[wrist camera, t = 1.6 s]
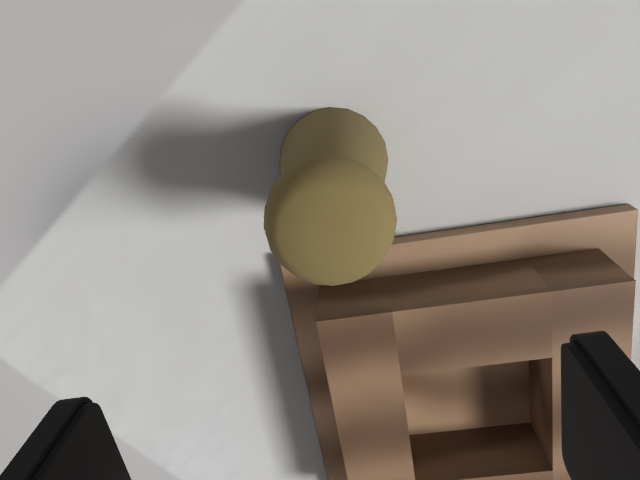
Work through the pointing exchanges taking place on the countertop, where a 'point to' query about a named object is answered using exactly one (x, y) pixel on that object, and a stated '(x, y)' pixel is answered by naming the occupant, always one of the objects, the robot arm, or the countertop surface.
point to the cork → (331, 199)
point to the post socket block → (462, 346)
